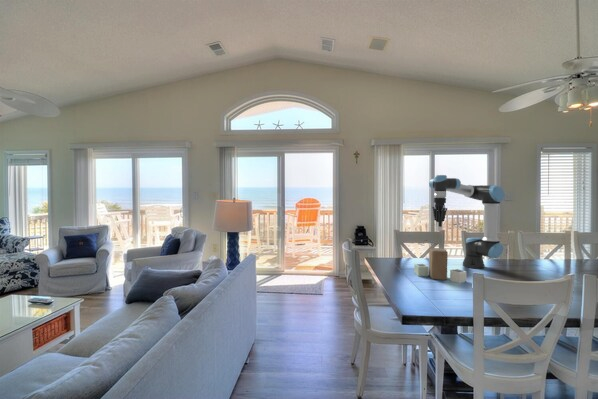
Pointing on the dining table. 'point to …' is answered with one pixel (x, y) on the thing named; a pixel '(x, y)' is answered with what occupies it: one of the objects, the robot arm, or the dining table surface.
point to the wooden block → (438, 263)
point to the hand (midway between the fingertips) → (438, 231)
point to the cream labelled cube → (458, 275)
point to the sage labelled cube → (420, 269)
